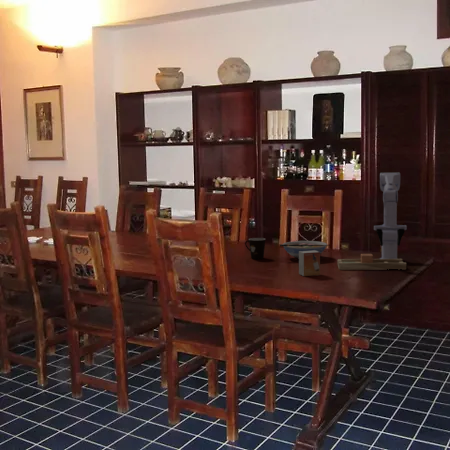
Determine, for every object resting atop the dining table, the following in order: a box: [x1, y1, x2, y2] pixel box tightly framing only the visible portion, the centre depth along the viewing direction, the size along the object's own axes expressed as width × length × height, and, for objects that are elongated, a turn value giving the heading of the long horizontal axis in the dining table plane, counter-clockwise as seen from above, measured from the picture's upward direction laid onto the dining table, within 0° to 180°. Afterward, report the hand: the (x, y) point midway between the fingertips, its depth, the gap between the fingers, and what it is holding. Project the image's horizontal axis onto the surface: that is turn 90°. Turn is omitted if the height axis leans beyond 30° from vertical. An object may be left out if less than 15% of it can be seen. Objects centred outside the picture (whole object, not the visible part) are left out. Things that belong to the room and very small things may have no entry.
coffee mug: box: [244, 237, 266, 260], centre depth 317 cm, size 12×9×10 cm
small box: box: [298, 250, 321, 277], centre depth 271 cm, size 8×6×10 cm
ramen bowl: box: [279, 240, 331, 260], centre depth 312 cm, size 25×23×8 cm
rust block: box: [360, 253, 374, 263], centre depth 285 cm, size 5×5×4 cm
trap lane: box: [337, 258, 407, 271], centre depth 285 cm, size 11×30×3 cm, turn 84°
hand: (389, 245), depth 283 cm, fingers open, 7 cm apart
